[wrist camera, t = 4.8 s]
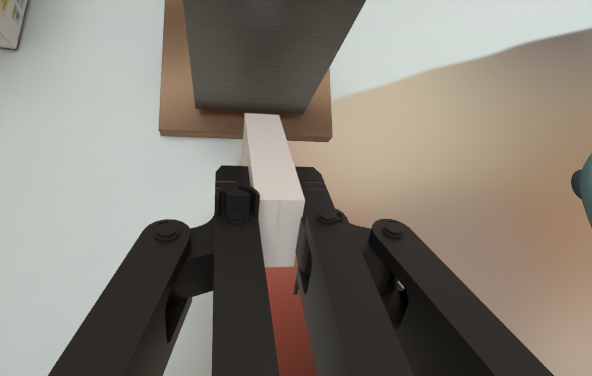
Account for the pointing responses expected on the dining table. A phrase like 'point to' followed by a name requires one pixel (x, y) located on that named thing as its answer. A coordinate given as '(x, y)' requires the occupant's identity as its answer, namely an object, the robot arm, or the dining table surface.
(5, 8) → the tea box
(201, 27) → the grey piece
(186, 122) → the tube stand
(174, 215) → the dining table surface
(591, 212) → the teapot
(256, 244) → the robot arm
